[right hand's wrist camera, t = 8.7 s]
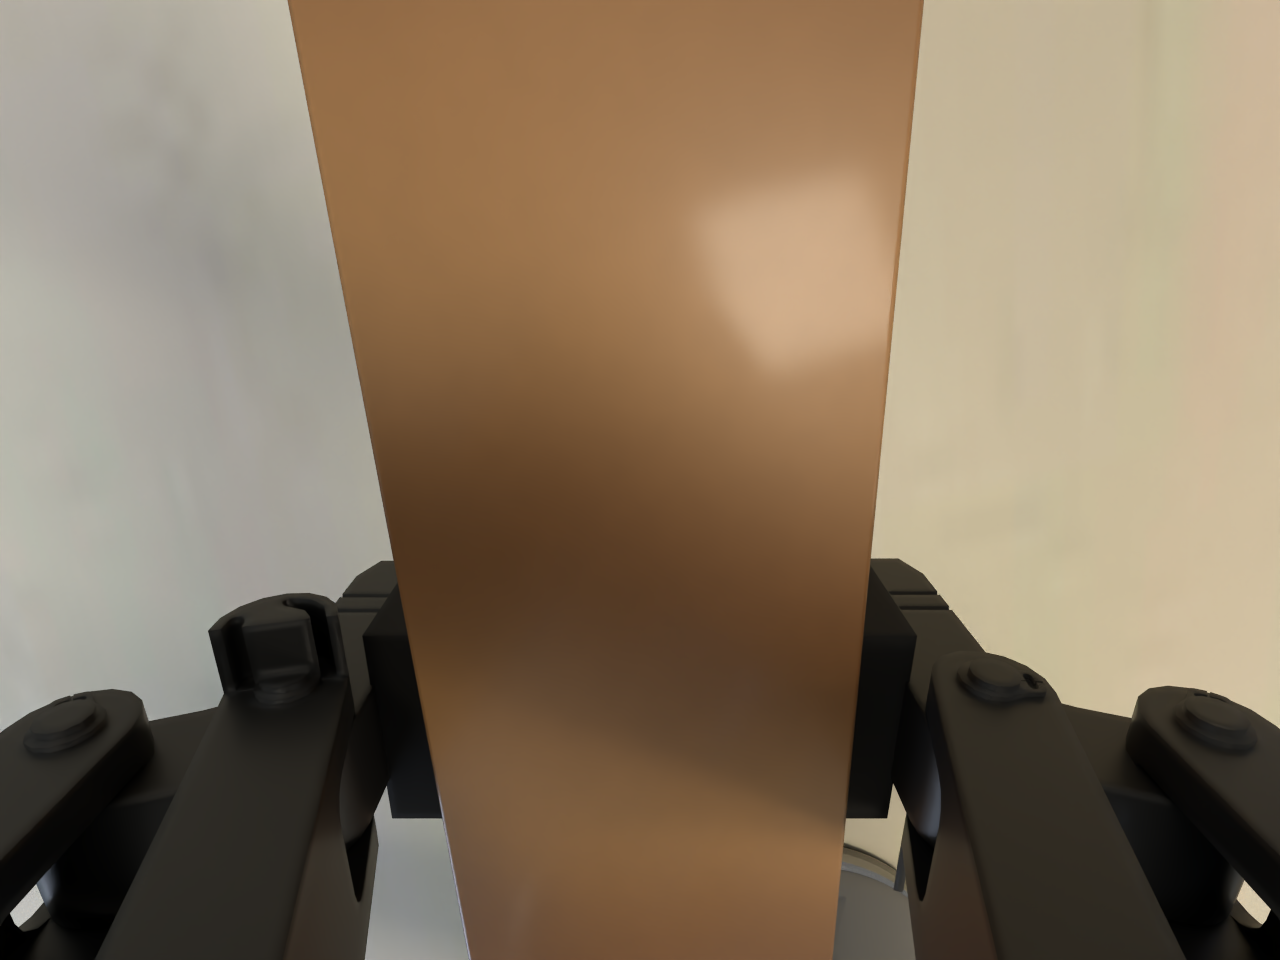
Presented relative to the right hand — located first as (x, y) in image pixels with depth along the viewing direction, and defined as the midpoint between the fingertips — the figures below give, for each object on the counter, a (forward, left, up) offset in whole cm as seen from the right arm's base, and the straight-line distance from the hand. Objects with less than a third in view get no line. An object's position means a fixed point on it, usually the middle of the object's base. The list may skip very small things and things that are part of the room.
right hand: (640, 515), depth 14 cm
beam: (+15, -16, -1) cm, 22 cm away
